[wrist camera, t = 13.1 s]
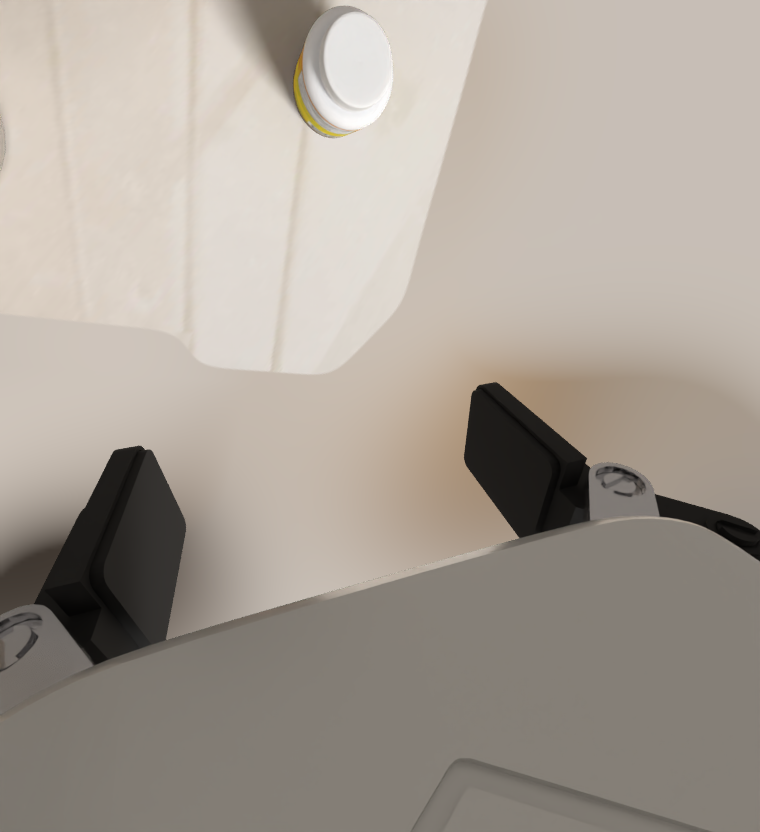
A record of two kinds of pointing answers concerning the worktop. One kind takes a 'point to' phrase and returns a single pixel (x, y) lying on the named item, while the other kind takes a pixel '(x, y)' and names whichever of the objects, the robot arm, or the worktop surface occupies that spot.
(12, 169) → the worktop surface
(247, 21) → the worktop surface
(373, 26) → the supplement bottle
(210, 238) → the worktop surface
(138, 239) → the worktop surface
